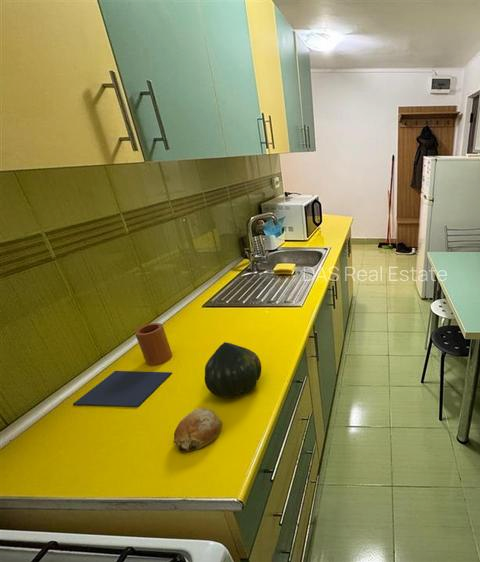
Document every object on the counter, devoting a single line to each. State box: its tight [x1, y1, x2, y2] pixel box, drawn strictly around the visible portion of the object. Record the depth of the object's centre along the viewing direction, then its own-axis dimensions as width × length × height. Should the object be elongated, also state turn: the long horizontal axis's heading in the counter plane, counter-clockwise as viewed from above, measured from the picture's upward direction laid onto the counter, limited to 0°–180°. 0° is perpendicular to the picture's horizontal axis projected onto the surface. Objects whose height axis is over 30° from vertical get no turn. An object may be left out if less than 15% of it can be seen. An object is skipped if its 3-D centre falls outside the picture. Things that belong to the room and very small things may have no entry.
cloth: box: [72, 370, 173, 408], centre depth 90 cm, size 19×14×1 cm
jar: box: [134, 322, 173, 367], centre depth 101 cm, size 7×7×12 cm
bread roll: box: [173, 407, 223, 452], centre depth 74 cm, size 10×10×8 cm
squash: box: [204, 341, 263, 398], centre depth 88 cm, size 14×15×15 cm
